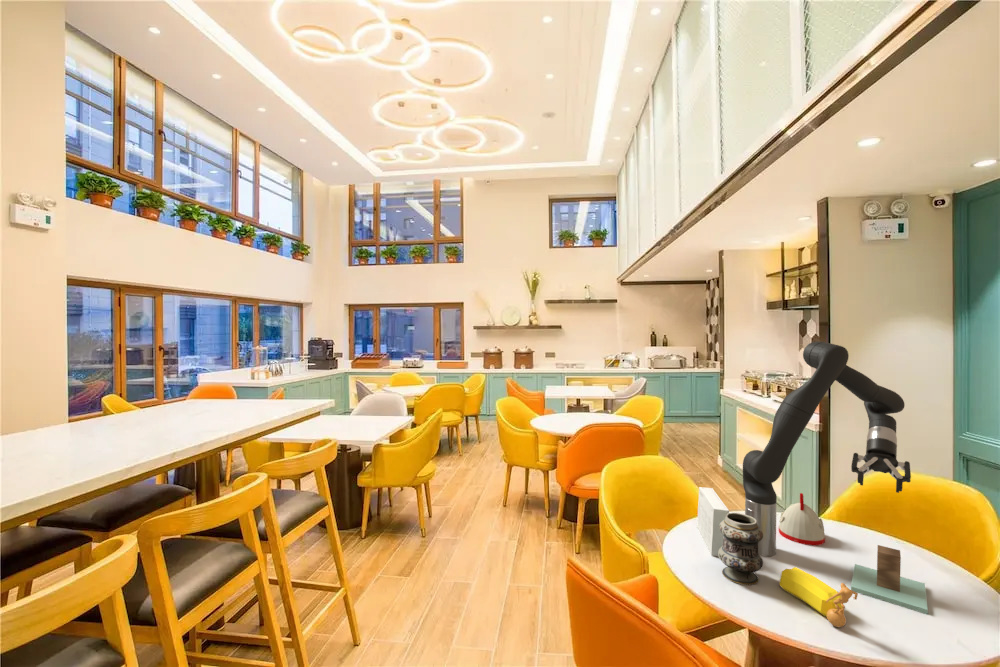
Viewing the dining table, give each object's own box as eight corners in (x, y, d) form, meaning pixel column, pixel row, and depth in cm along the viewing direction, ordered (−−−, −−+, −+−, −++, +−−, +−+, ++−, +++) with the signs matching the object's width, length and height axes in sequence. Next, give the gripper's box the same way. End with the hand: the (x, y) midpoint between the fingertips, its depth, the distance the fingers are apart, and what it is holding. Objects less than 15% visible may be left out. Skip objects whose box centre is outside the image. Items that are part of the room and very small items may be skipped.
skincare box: (729, 558, 147) (729, 510, 147) (711, 556, 148) (711, 509, 148) (712, 529, 168) (712, 487, 167) (696, 527, 169) (697, 486, 169)
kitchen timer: (823, 533, 164) (823, 492, 164) (826, 549, 153) (827, 505, 152) (778, 524, 172) (779, 485, 171) (778, 538, 160) (779, 497, 160)
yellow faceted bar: (791, 581, 134) (771, 585, 132) (791, 559, 134) (771, 563, 132) (853, 619, 117) (831, 624, 115) (854, 594, 117) (831, 599, 115)
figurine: (843, 618, 117) (844, 573, 117) (865, 634, 111) (866, 587, 111) (815, 621, 116) (815, 576, 116) (835, 637, 110) (836, 589, 110)
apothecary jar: (767, 575, 137) (768, 517, 137) (757, 593, 128) (757, 530, 128) (724, 561, 145) (725, 506, 145) (712, 576, 136) (713, 518, 136)
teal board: (851, 590, 129) (851, 586, 129) (854, 567, 141) (854, 563, 141) (927, 614, 119) (927, 609, 119) (924, 587, 131) (924, 583, 131)
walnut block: (876, 585, 130) (877, 551, 129) (876, 577, 133) (877, 544, 133) (899, 592, 126) (900, 557, 126) (899, 584, 130) (900, 550, 130)
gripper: (853, 433, 149) (849, 475, 141) (911, 441, 140) (911, 487, 132) (854, 445, 153) (850, 487, 145) (910, 454, 144) (909, 500, 136)
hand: (879, 487), depth 138 cm, fingers open, 8 cm apart
